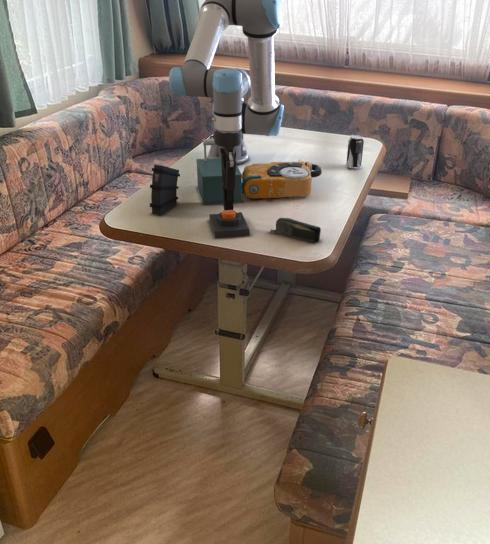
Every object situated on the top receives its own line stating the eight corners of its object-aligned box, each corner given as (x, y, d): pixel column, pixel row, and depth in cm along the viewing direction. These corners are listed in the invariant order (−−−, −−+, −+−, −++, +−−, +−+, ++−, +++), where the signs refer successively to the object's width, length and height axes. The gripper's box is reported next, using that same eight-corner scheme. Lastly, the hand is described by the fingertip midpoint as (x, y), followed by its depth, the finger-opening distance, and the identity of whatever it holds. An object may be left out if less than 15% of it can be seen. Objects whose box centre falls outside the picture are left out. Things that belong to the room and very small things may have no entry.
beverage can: (348, 163, 225) (351, 133, 219) (362, 165, 224) (365, 135, 218) (344, 168, 221) (347, 137, 215) (359, 170, 219) (362, 139, 213)
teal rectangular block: (197, 186, 199) (196, 162, 194) (233, 184, 202) (233, 160, 197) (203, 204, 186) (202, 179, 181) (241, 202, 189) (241, 177, 184)
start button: (221, 214, 171) (220, 209, 170) (234, 213, 172) (234, 208, 171) (223, 220, 168) (223, 214, 167) (236, 219, 169) (236, 214, 168)
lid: (196, 161, 195) (195, 137, 191) (233, 159, 198) (232, 136, 194) (202, 179, 181) (201, 153, 177) (241, 176, 184) (241, 151, 180)
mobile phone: (322, 225, 165) (274, 213, 170) (318, 229, 163) (270, 217, 167) (320, 240, 167) (273, 228, 172) (316, 245, 165) (269, 232, 170)
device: (236, 155, 204) (319, 154, 208) (236, 177, 208) (317, 175, 213) (242, 178, 185) (333, 176, 189) (242, 202, 189) (331, 199, 193)
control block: (209, 220, 176) (209, 208, 174) (241, 218, 178) (241, 206, 176) (215, 238, 166) (214, 225, 164) (249, 235, 168) (249, 223, 166)
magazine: (144, 213, 175) (152, 164, 173) (165, 215, 187) (173, 169, 186) (155, 215, 174) (163, 165, 172) (175, 217, 186) (183, 171, 185)
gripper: (210, 123, 162) (212, 201, 173) (217, 137, 151) (219, 219, 162) (237, 122, 163) (237, 199, 175) (245, 136, 152) (245, 217, 164)
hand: (228, 209), depth 169 cm, fingers closed
